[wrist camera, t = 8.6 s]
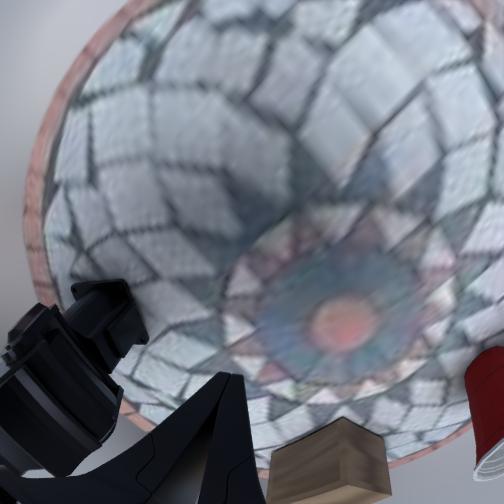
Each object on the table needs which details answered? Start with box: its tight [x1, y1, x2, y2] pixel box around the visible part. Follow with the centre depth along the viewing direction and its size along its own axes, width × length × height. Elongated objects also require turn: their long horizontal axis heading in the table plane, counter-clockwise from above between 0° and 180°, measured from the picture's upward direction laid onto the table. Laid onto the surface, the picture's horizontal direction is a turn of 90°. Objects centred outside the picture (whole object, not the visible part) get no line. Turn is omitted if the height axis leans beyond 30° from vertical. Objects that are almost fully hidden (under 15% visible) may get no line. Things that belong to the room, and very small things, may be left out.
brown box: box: [266, 418, 392, 504], centre depth 26 cm, size 8×11×8 cm
